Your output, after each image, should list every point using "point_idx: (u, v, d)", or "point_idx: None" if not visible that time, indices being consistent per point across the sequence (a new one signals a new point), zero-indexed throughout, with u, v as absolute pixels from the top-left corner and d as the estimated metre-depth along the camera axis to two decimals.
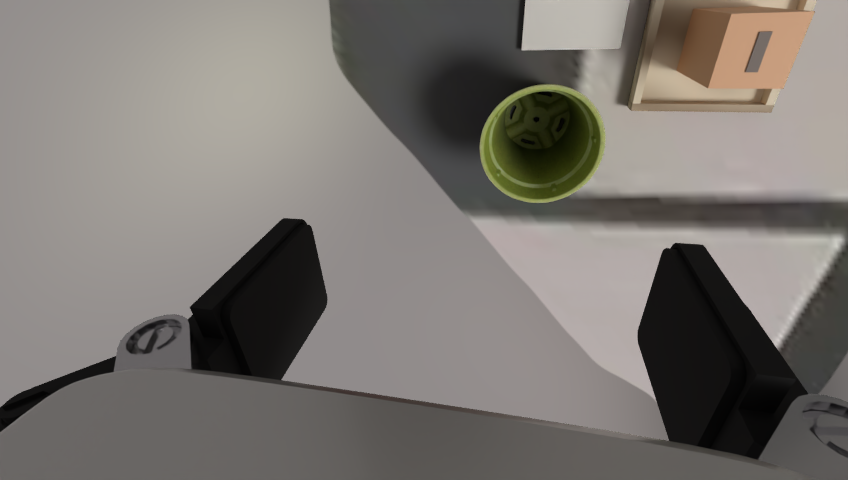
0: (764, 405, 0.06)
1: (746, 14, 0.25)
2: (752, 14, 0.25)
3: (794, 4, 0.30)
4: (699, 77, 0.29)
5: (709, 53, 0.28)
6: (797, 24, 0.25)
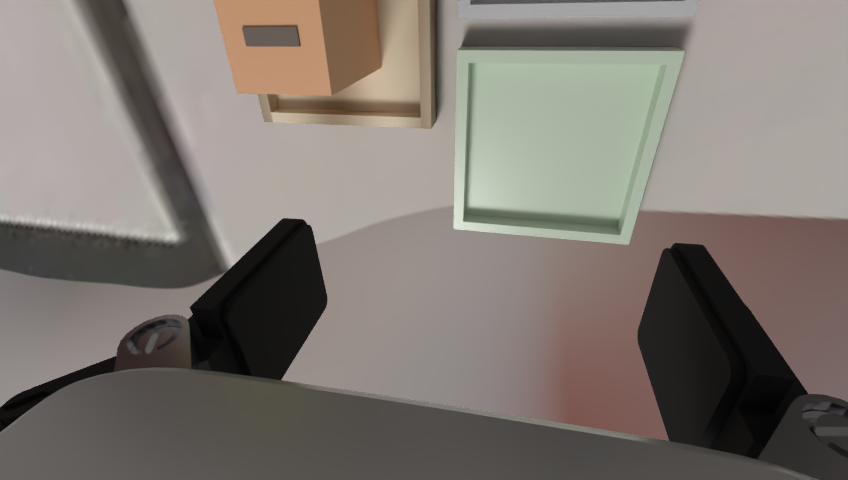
0: (764, 405, 0.06)
1: None
2: (317, 5, 0.15)
3: (385, 108, 0.24)
4: None
5: None
6: (313, 79, 0.17)
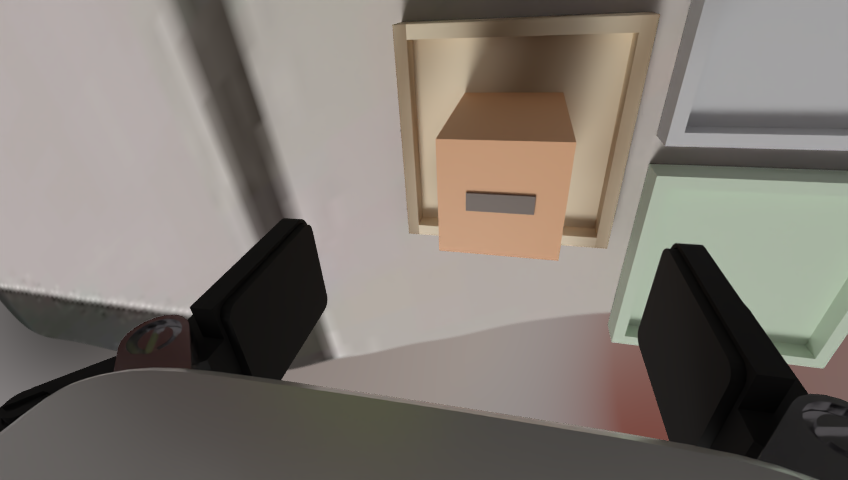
0: (764, 405, 0.06)
1: (570, 168, 0.13)
2: (568, 177, 0.13)
3: None
4: (455, 122, 0.15)
5: (499, 127, 0.14)
6: (540, 244, 0.15)
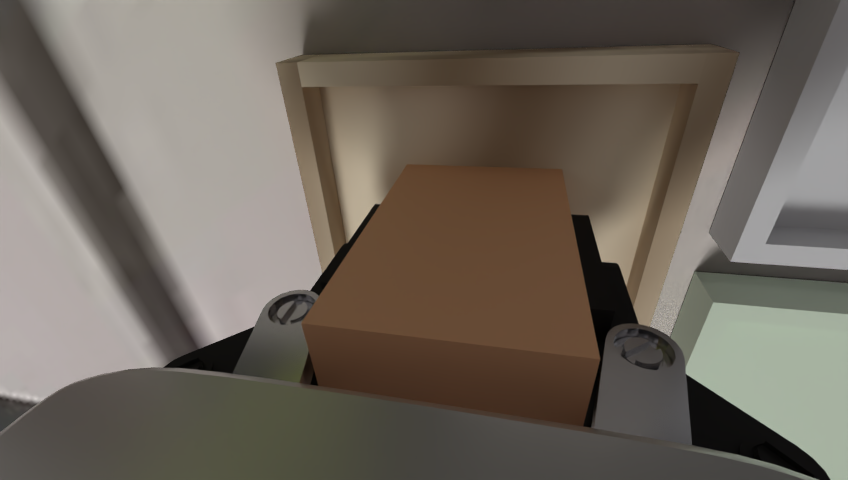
0: (597, 335, 0.08)
1: (585, 399, 0.06)
2: (581, 412, 0.06)
3: None
4: (363, 257, 0.08)
5: (440, 280, 0.07)
6: None
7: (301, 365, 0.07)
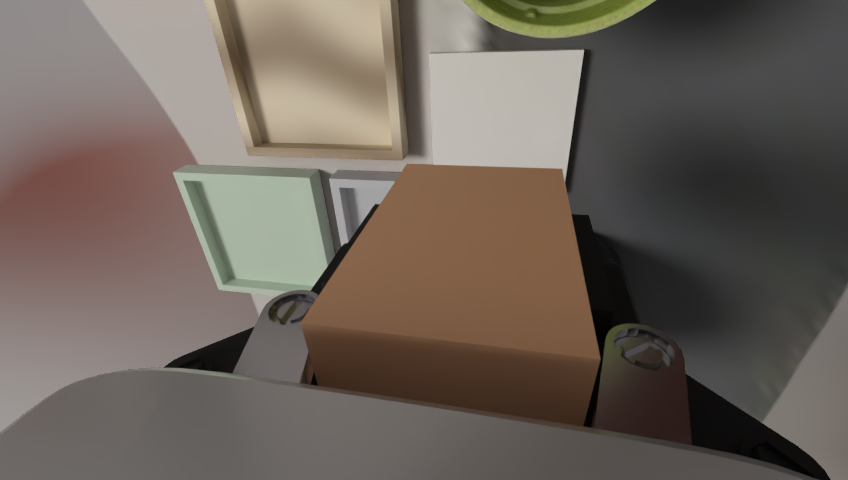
0: (597, 335, 0.08)
1: (585, 399, 0.06)
2: (581, 412, 0.06)
3: (255, 106, 0.26)
4: (362, 256, 0.08)
5: (440, 279, 0.07)
6: None
7: (301, 365, 0.07)
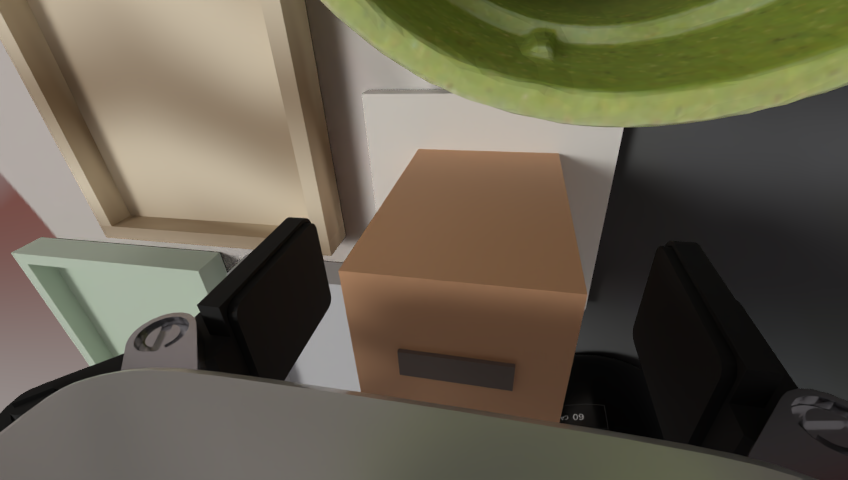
0: (754, 400, 0.06)
1: (575, 331, 0.07)
2: (572, 344, 0.07)
3: (109, 165, 0.17)
4: (385, 222, 0.09)
5: (453, 239, 0.09)
6: None
7: None
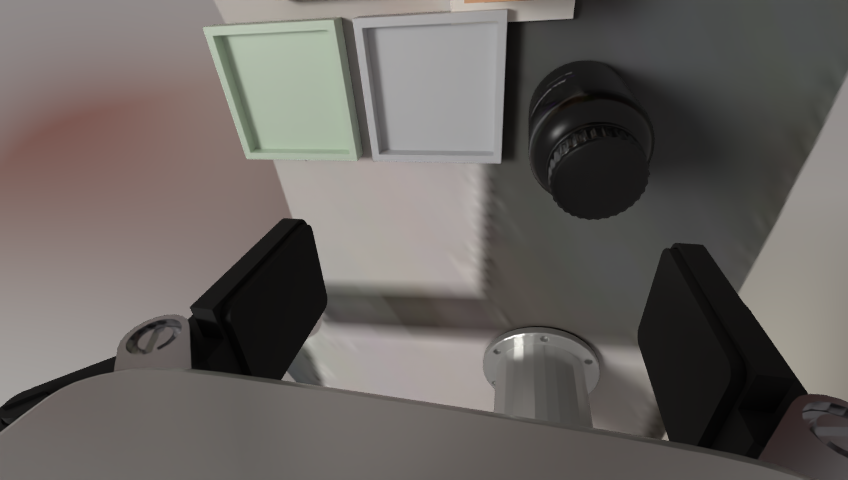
0: (764, 405, 0.06)
1: None
2: None
3: None
4: None
5: None
6: None
7: None
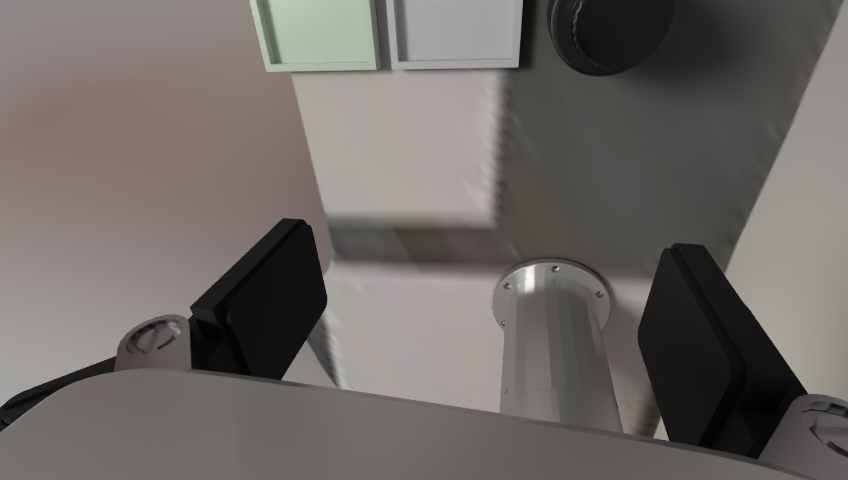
0: (764, 405, 0.06)
1: None
2: None
3: None
4: None
5: None
6: None
7: None
